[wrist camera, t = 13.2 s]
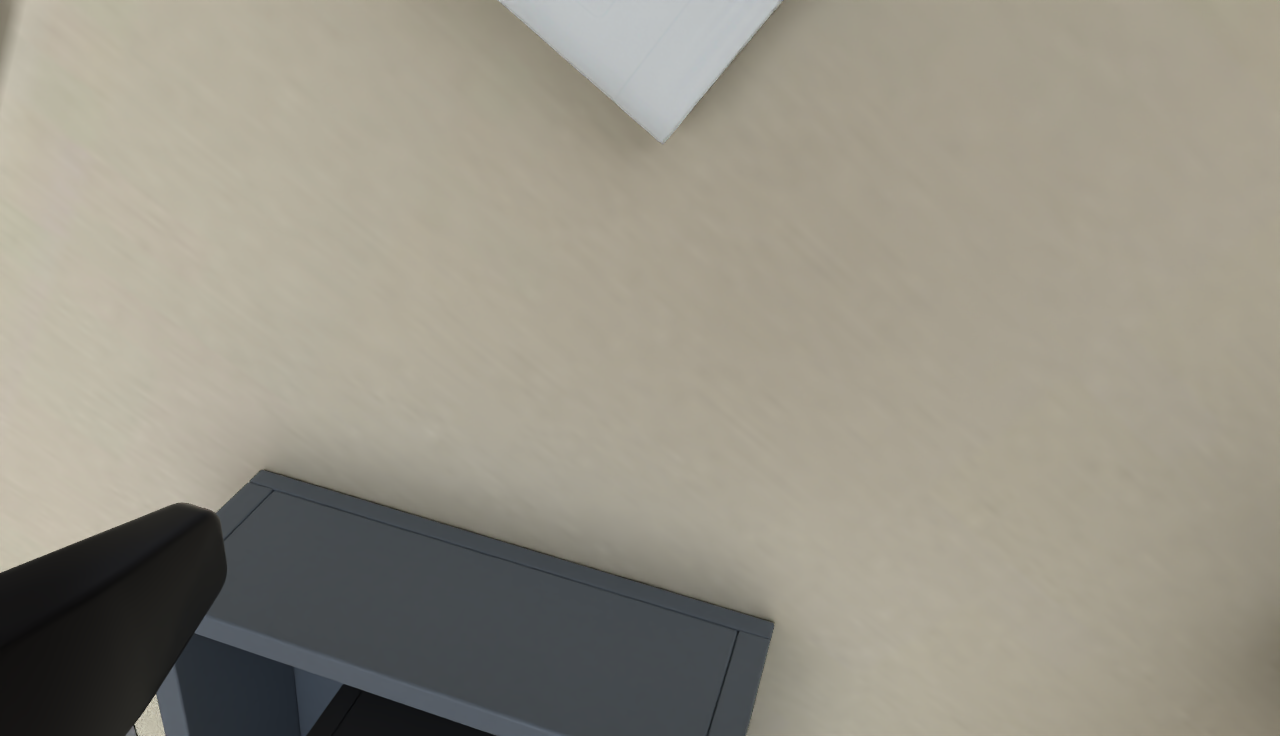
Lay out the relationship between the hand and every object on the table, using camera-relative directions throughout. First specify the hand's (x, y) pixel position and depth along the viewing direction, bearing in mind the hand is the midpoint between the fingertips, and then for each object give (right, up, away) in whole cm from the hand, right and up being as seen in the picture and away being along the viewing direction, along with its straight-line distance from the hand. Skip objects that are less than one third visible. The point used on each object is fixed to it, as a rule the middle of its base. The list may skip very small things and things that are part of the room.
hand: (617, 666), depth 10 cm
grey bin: (-4, -9, +21) cm, 23 cm away
